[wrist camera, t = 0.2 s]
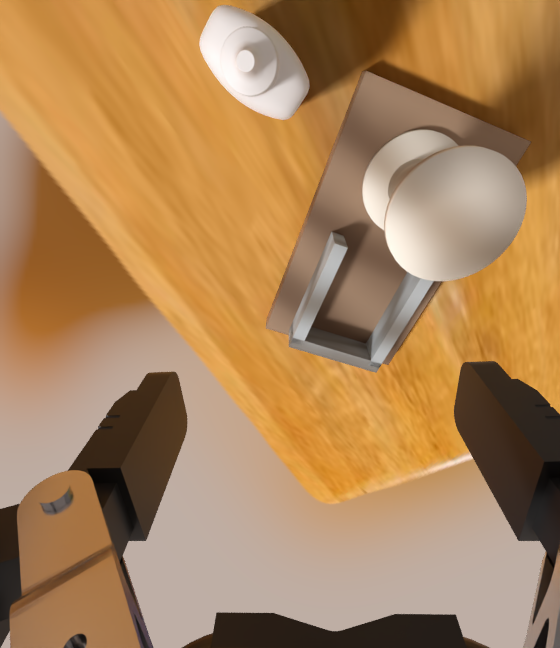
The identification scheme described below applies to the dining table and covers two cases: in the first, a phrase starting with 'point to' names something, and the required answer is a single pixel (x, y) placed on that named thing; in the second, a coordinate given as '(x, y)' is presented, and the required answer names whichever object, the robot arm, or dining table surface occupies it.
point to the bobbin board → (350, 218)
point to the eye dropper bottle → (254, 62)
